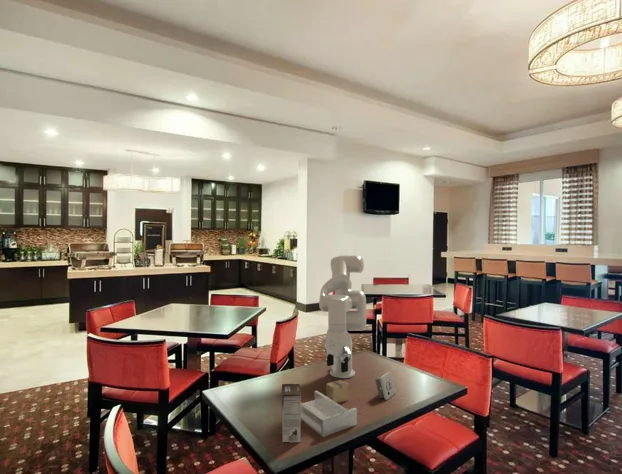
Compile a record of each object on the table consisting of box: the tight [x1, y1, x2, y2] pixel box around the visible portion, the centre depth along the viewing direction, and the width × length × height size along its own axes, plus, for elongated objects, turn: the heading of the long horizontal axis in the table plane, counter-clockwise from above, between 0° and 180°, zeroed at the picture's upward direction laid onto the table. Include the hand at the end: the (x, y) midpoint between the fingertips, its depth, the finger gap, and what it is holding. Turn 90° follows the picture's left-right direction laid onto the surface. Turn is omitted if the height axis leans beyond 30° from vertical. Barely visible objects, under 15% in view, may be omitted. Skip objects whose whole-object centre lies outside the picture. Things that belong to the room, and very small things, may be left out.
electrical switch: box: [374, 371, 397, 401], centre depth 157 cm, size 9×5×9 cm, turn 141°
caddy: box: [301, 390, 358, 438], centre depth 138 cm, size 24×15×6 cm, turn 33°
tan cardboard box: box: [325, 379, 350, 404], centre depth 152 cm, size 5×8×7 cm, turn 123°
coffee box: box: [281, 383, 302, 443], centre depth 125 cm, size 9×6×16 cm
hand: (337, 368), depth 151 cm, fingers open, 9 cm apart
